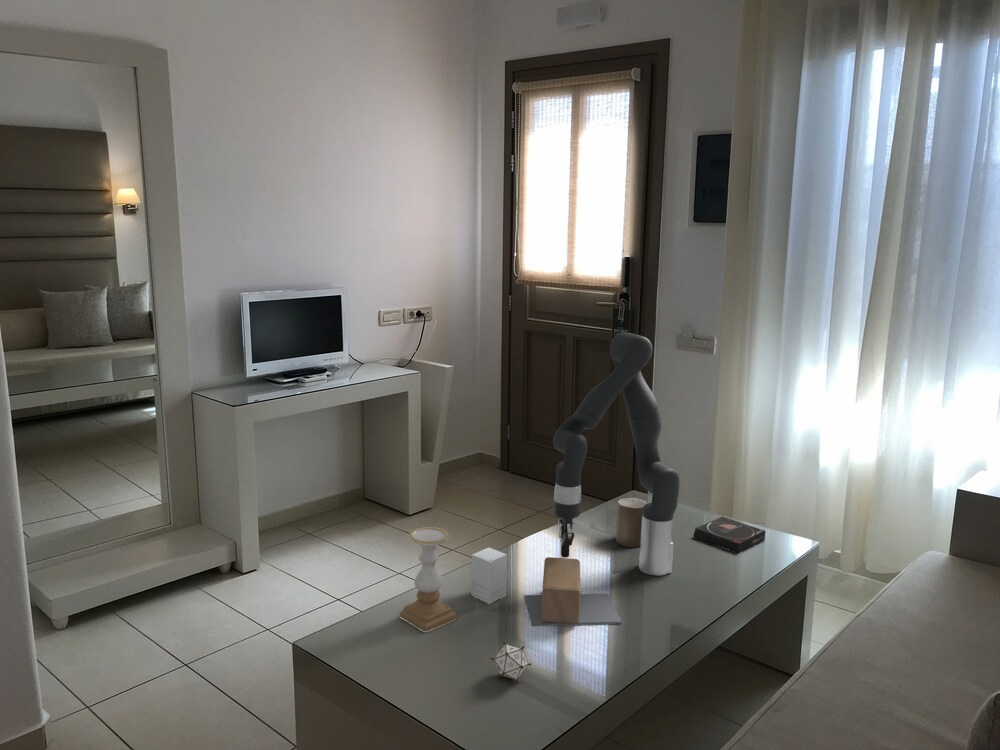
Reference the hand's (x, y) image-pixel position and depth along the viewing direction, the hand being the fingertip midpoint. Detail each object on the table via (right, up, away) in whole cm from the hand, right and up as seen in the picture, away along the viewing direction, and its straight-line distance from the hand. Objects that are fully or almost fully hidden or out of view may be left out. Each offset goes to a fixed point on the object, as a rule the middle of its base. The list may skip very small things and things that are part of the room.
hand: (564, 555), depth 229 cm
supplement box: (-22, -11, -4) cm, 24 cm away
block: (-1, -5, -1) cm, 5 cm away
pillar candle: (+25, -4, +36) cm, 44 cm away
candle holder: (-38, -13, -17) cm, 43 cm away
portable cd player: (+58, -4, +40) cm, 71 cm away
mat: (+1, -12, -10) cm, 16 cm away
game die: (-16, -19, -42) cm, 49 cm away
